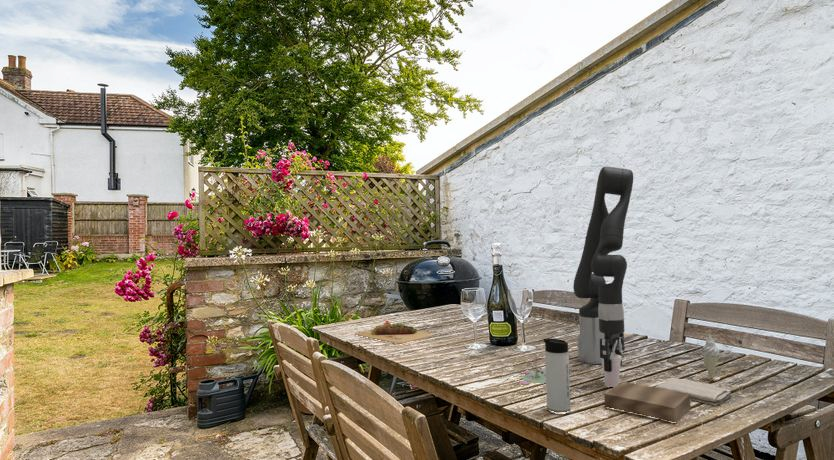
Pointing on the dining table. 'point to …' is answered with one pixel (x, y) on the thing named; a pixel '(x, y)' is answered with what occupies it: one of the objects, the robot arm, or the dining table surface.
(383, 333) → the cutting board
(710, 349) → the ice cream cone
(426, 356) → the dining table surface
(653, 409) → the walnut base
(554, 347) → the travel mug
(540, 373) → the plant
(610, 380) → the smoothie
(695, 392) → the washcloth
